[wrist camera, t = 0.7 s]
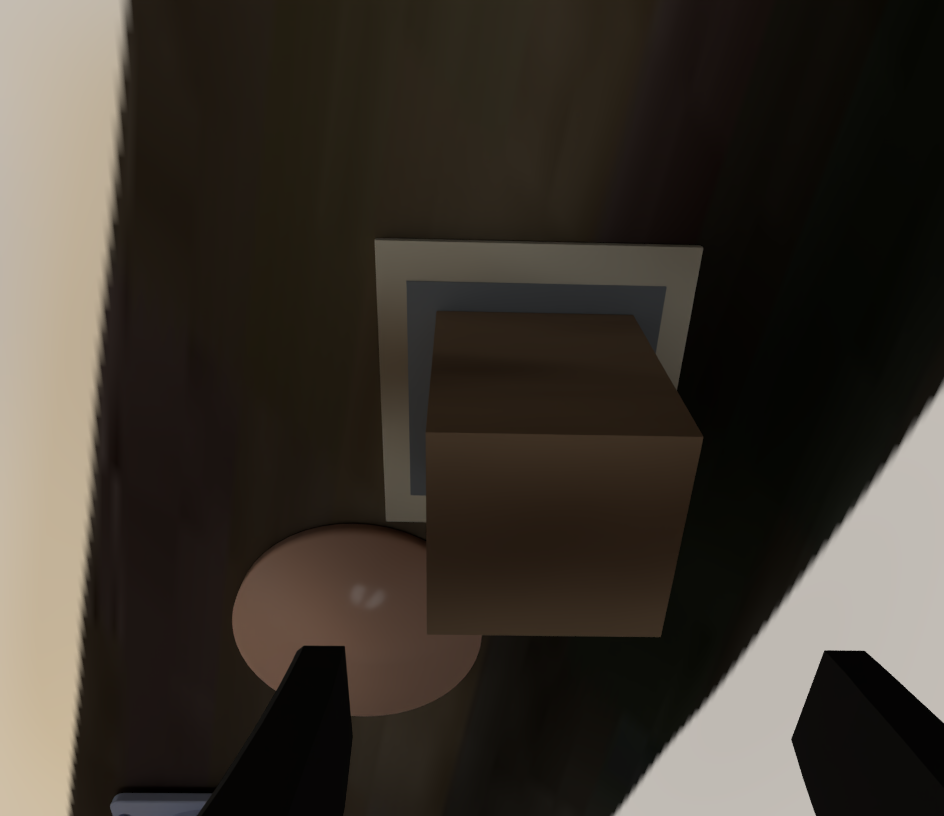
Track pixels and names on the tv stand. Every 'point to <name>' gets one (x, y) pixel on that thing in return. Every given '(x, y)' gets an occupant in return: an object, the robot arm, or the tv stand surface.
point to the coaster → (351, 615)
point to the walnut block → (552, 476)
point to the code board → (507, 290)
